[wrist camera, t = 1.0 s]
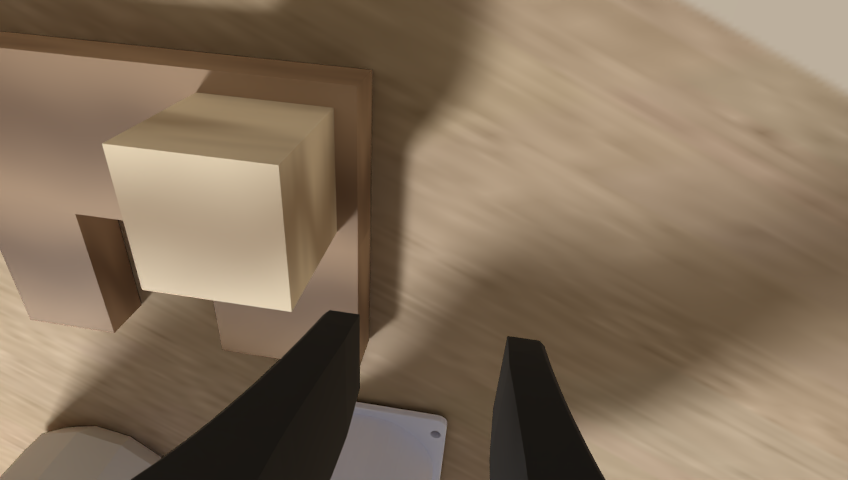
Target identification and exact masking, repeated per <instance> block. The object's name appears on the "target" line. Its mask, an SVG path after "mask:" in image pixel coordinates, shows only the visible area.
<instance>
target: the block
mask: <svg viewBox="0 0 848 480" xmlns="http://www.w3.org/2000/svg"><path fill="white" fill-rule="evenodd" d="M102 146H103V149H104V153H105V157H106V160H107V164H108V168H109V171H110V175H111V178H112V182H113V186H114V189H115V193H116V197H117V200H118V204H119V208H120V211H121V215H122V218H123V222H124V226H125V229H126V233H127V237H128V240H129V244H130V248H131V251H132V255H133V258H134V262H135V266H136V269H137V273H138V277H139V280H140V284H141V288H142V290H147V291H153V292H160V293H167V294H174V295H180V296H187V297H194V298H201V299H207V300H214V301H221V302H228V303H234V304H241V305H248V306H254V307H261V308H268V309H275V310H281V311H288V312H292V310H293V309H294V307H295V305H296V303H297V302H298V300H299V298H300V296H301V295H302V293H303V291H304V289H305V288H306V286H307V284H308V282H309V280H310V279H311V277H312V275H313V273H314V272H315V270H316V268H317V266H318V265H319V263H320V261H321V259H322V258H323V256H324V254H325V252H326V250H327V249H328V247H329V245H330V243H331V242H332V240H333V238H334V236H335V235H336V233H337V214H336V177H335V141H334V108H331V107H322V106H313V105H304V104H295V103H286V102H277V101H268V100H259V99H250V98H241V97H232V96H223V95H214V94H205V93H194V94H192V95H190V96H188V97H187V98H185V99H183V100H181V101H179V102H177V103H176V104H174V105H172V106H170V107H168V108H166V109H165V110H163V111H161V112H159V113H157V114H155V115H154V116H152V117H150V118H148V119H146V120H144V121H142V122H141V123H139V124H137V125H135V126H133V127H131V128H130V129H128V130H126V131H124V132H122V133H120V134H119V135H117V136H115V137H113V138H111V139H109V140H108V141H106V142H104V143H102Z"/></svg>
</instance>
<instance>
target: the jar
mask: <svg viewBox="0 0 848 480" xmlns="http://www.w3.org/2000/svg"><path fill="white" fill-rule="evenodd" d="M160 459H161V457H160V456H159V455H157V454H156V453H154V452H153V451H151V450H150V449H148V448H147V447H145V446H144V445H142V444H141V443H139V442H138V441H136V440H135V439H133V438H132V437H130V436H127V435H124V434H120V433H117V432H114V431H111V430H108V429H104V428H101V427H98V426H82V427H66V428H62V429H58V430H55V431H51V432H47V433H43V434H41V435H40V436H39V437H38V438H37V439H36V440H35V441H34V442H33V443H32V444H31V445H30V446H29V447H28V448H27V449H25V451H24V452H23V453H22V454H21V455H20V456H19V457H18V458H17V459H16V460H15V461H14V462H13V464H12V465H11V466H10V467H9V468H8V469H7V470H6V471H5V472H4V473H3V474H2V475H1V477H0V480H131V479H132V478H134V477H135V476H136V475H138V474H139V473H141V472H142V471H144V470H145V469H147V468H148V467H150V466H151V465H153V464H154V463H156V462H157V461H158V460H160Z"/></svg>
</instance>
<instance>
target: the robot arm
mask: <svg viewBox="0 0 848 480" xmlns="http://www.w3.org/2000/svg"><path fill="white" fill-rule="evenodd" d="M359 389H360V314H353V313H346V312H340V311H333V310H329V311H327V312H326V313H325V314H323V316H322V317H321V318H320V319H319V320H318V321H317V322H316V323H315V324H314V325H313V326H312V327H311V328H310V329H309V330H308V331H307V332H306V334H305V335H304V336H303V337H302V338H301V339H300V340H299V341H298V342H297V343H296V344H295V345H294V346H293V347H292V348H291V349H290V350H289V351H288V352H287V353H286V354H285V355H284V356H283V357H282V358H281V359H280V360H279V361H277V362H276V363H275V364H274V365H273V366H272V367H271V368H270V369H269V370H268V371H267V372H266V373H265V374H264V375H263V376H262V377H261V378H259V379H258V380H257V381H256V382H255V383H254V384H253V385H252V386H251V387H250V388H249V389H247V390H246V391H245V392H244V393H243V394H242V395H240V396H239V397H238V398H237V399H236V400H235V401H233V402H232V403H231V404H230V405H229V406H228V407H226V408H225V409H224V410H223V411H222V412H221V413H219V414H218V415H217V416H216V417H215V418H213V419H212V420H211V421H210V422H209V423H207V424H206V425H205V426H204V427H202V428H201V429H200V430H198V431H197V432H196V433H195V434H193V435H192V436H191V437H189V438H188V439H187V440H186V441H184V442H183V443H182V444H180V445H179V446H178V447H176V448H175V449H173V450H172V451H171V452H169V453H168V454H167V455H165V456H164V457H163V458H161V459H160V460H158V461H157V462H156V463H154V464H153V465H151V466H150V467H148V468H147V469H145V470H144V471H142V472H141V473H139V474H138V475H136V476H135V477H134V478H132V479H131V480H440V475H441V468H442V460H443V453H444V445H445V437H446V430H447V420H446V419H445V418H444V417H442V416H440V415H435V414H429V413H422V412H416V411H410V410H404V409H398V408H392V407H385V406H379V405H373V404H367V403H361V402H356V401H357V397H358V393H359ZM490 480H605V478H604V476H603V475H602V473H601V471H600V469H599V467H598V466H597V464H596V462H595V460H594V458H593V456H592V454H591V453H590V451H589V449H588V447H587V445H586V443H585V441H584V439H583V437H582V435H581V433H580V431H579V429H578V427H577V425H576V422H575V420H574V418H573V416H572V414H571V412H570V410H569V408H568V406H567V403H566V401H565V399H564V397H563V394H562V392H561V390H560V387H559V385H558V382H557V380H556V377H555V375H554V372H553V370H552V367H551V365H550V362H549V359H548V356H547V353H546V350H545V347H544V345H543V344H542V343H541V342H540V341H537V340H530V339H523V338H517V337H510V336H508V337H507V342H506V347H505V352H504V357H503V362H502V367H501V372H500V377H499V382H498V387H497V393H496V398H495V403H494V408H493V419H492V432H491V446H490Z"/></svg>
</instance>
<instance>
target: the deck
mask: <svg viewBox="0 0 848 480" xmlns="http://www.w3.org/2000/svg"><path fill="white" fill-rule="evenodd" d="M194 93H205V94H214V95H223V96H232V97H241V98H250V99H259V100H268V101H277V102H286V103H295V104H304V105H313V106H322V107H331V108H334V141H335V177H336V214H337V233H336V235H335V236H334V238H333V240H332V242H331V243H330V245H329V247H328V249H327V250H326V252H325V254H324V256H323V258H322V259H321V261H320V263H319V265H318V266H317V268H316V270H315V272H314V273H313V275H312V277H311V279H310V280H309V282H308V284H307V286H306V288H305V289H304V291H303V293H302V295H301V296H300V298H299V300H298V302H297V303H296V305H295V307H294V309H293V310H292V312H288V311H281V310H275V309H268V308H261V307H254V306H248V305H241V304H234V303H228V302H221V301H214V300H213V303H214V308H215V313H216V319H217V324H218V329H219V335H220V340H221V345H222V350H226V351H232V352H239V353H245V354H252V355H258V356H264V357H271V358H277V359H281V358H282V357H283V356H284V355H285V354H286V353H287V352H288V351H289V350H290V349H291V348H292V347H293V346H294V345H295V344H296V343H297V342H298V341H299V340H300V339H301V338H302V337H303V336H304V335H305V334H306V332H307V331H308V330H309V329H310V328H311V327H312V326H313V325H314V324H315V323H316V322H317V321H318V320H319V319H320V318H321V317H322V316H323V314H325V313H326V312H327V311H329V310H333V311H340V312H346V313H353V314H360V364H361V361H362V358H363V355H364V353H365V350H366V347H367V344H368V341H369V308H370V223H371V139H372V70H368V69H359V68H349V67H339V66H330V65H320V64H310V63H301V62H291V61H281V60H272V59H262V58H253V57H243V56H233V55H224V54H214V53H204V52H195V51H185V50H176V49H166V48H156V47H147V46H137V45H127V44H118V43H108V42H99V41H89V40H79V39H70V38H60V37H50V36H41V35H31V34H21V33H12V32H2V31H0V250H1V252H2V255H3V257H4V259H5V262H6V264H7V266H8V269H9V271H10V273H11V276H12V278H13V280H14V283H15V285H16V287H17V290H18V292H19V294H20V296H21V299H22V301H23V303H24V306H25V308H26V310H27V313H28V315H29V317H30V320H35V321H41V322H48V323H54V324H60V325H67V326H73V327H80V328H86V329H92V330H99V331H105V332H111V333H115V332H116V331H117V329H118V328H119V327H120V326H121V325H122V324H123V323H124V322H125V321H126V320H127V319H128V318H129V317H130V316H131V315H132V314H133V313H134V312H135V311H136V310H137V309H138V308H139V307H140V306H141V302H140V298H139V295H138V291H137V287H136V284H135V280H134V277H133V273H132V270H131V266H130V263H129V259H128V255H127V252H126V248H125V245H124V241H123V238H122V234H121V230H120V227H119V223H118V220H123V218H122V215H121V211H120V208H119V204H118V200H117V197H116V193H115V189H114V186H113V182H112V178H111V175H110V171H109V168H108V164H107V160H106V157H105V153H104V149H103V146H102V143H104V142H106V141H108V140H109V139H111V138H113V137H115V136H117V135H119V134H120V133H122V132H124V131H126V130H128V129H130V128H131V127H133V126H135V125H137V124H139V123H141V122H142V121H144V120H146V119H148V118H150V117H152V116H154V115H155V114H157V113H159V112H161V111H163V110H165V109H166V108H168V107H170V106H172V105H174V104H176V103H177V102H179V101H181V100H183V99H185V98H187V97H188V96H190V95H192V94H194Z"/></svg>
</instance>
